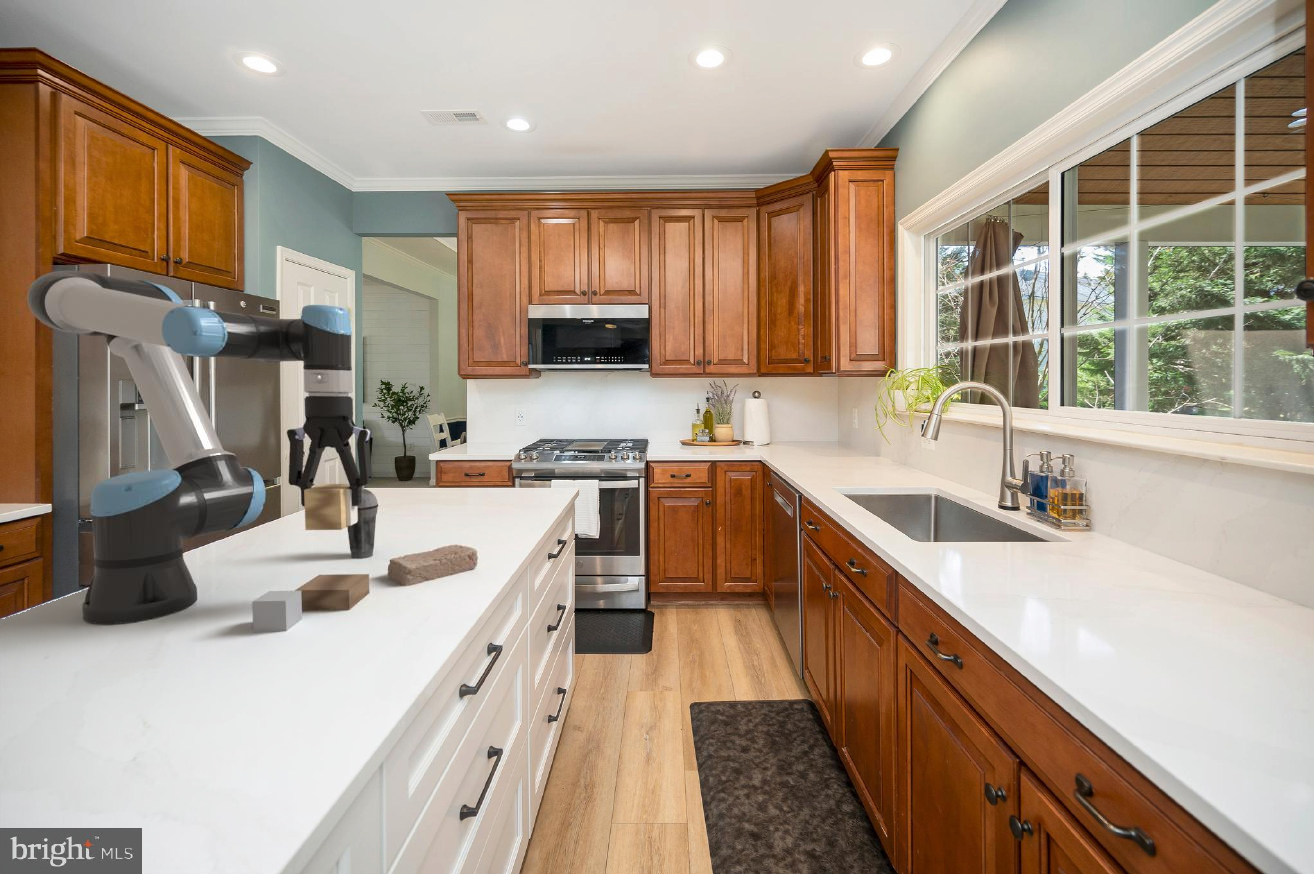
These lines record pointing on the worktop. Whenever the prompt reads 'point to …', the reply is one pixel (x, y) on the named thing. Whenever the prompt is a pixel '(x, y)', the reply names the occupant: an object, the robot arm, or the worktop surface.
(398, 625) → the worktop surface
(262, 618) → the grey block
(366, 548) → the beverage cup
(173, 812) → the worktop surface
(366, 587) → the walnut block
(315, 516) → the oak block
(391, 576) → the brick
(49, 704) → the worktop surface
